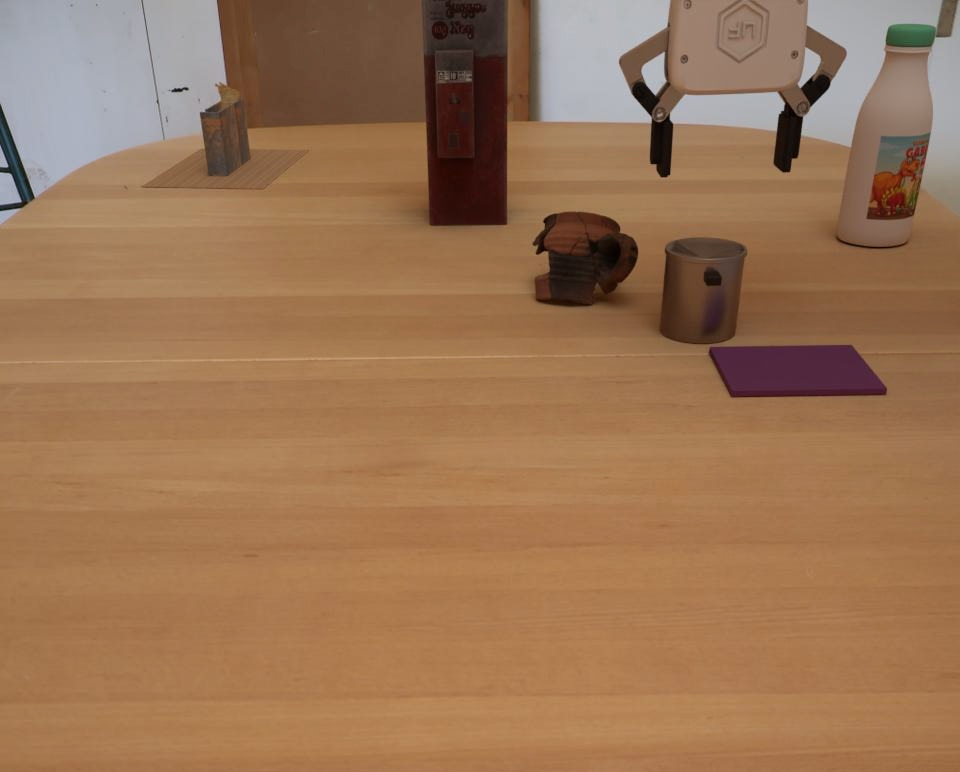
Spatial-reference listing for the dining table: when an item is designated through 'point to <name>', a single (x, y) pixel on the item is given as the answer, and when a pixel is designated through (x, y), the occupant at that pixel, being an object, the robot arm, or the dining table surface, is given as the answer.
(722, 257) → the pot
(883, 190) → the milk bottle
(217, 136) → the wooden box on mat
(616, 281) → the pottery mug
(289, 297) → the dining table surface
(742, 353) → the flat purple board
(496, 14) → the toy vending machine
